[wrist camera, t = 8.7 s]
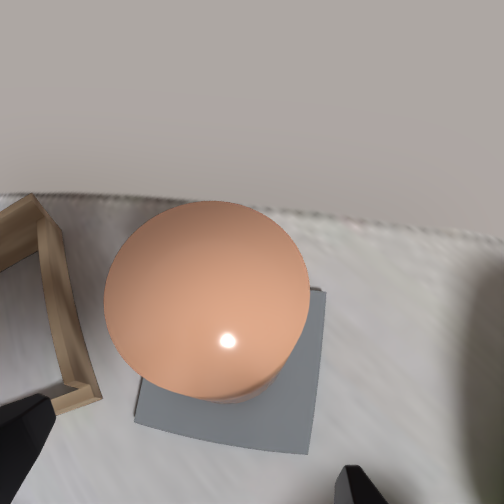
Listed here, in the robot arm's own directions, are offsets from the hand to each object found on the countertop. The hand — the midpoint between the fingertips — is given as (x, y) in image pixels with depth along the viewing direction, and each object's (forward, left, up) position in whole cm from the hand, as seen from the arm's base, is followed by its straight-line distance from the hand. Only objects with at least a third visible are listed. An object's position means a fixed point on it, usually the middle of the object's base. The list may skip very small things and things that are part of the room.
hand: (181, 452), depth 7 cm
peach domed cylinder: (+4, 0, -9) cm, 10 cm away
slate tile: (+4, 0, -10) cm, 11 cm away
